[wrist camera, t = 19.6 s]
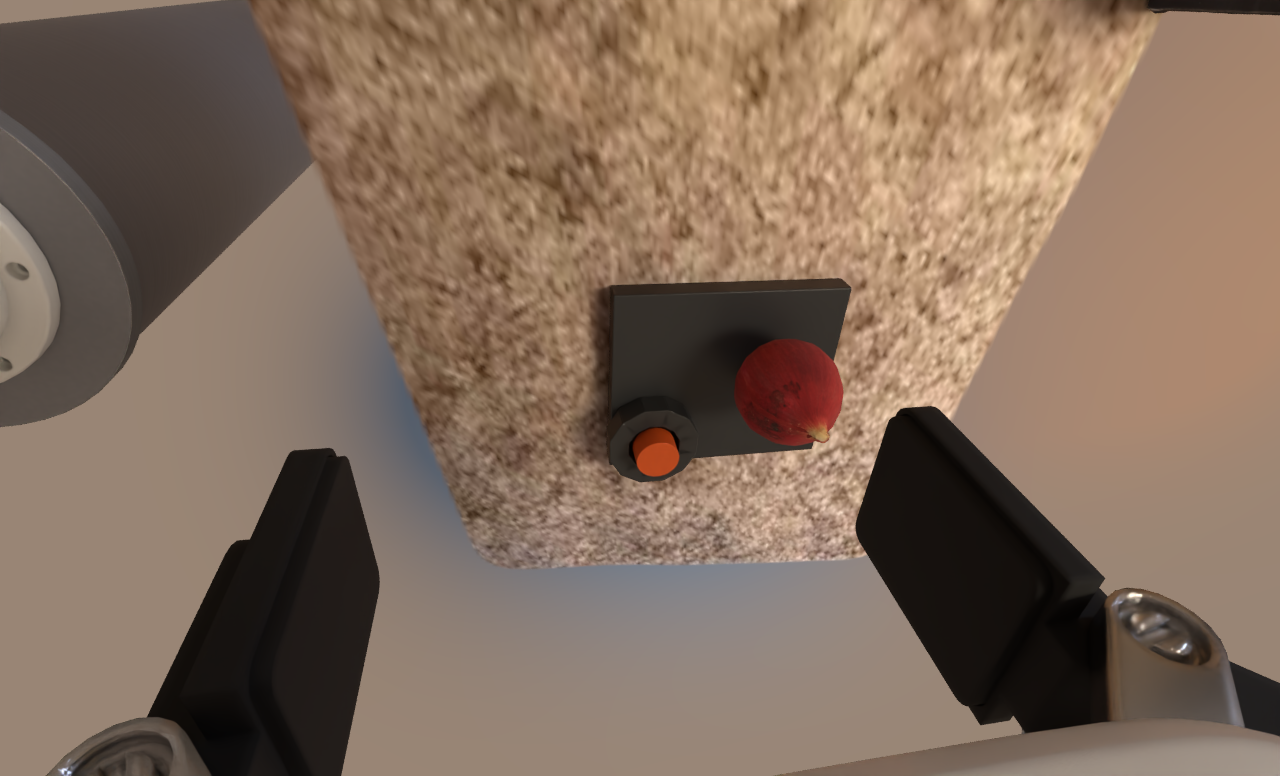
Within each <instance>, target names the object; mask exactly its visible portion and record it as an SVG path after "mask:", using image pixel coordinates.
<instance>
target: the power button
mask: <svg viewBox="0 0 1280 776" xmlns="http://www.w3.org/2000/svg"><path fill="white" fill-rule="evenodd" d="M633 452H634V456H635V460H636V464H637V467H638V469H639V470H640V471H641V472H642V473H643V474H645V475H648V476H662V475H665V474H667V473H669V472H670V471H672V470H673V469H674V468H675V467H676V465H677V464H678V461H679V452H678V450H677V447H676V444H675V441H674V438H673V436H672V434H671V433H670V432H669V431H667V430H665V429H663V428H649V429H646V430H644V431H642V432H641V433H640V434H639V435H637V437H636V438H635V440H634V442H633Z"/></svg>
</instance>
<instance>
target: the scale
mask: <svg viewBox="0 0 1280 776" xmlns="http://www.w3.org/2000/svg"><path fill="white" fill-rule="evenodd" d="M850 293H851V287H850V286H849V285H848V284H847V283H846V282H845V281H843V280H842V279H816V280H783V281H751V282H718V283H685V284H653V285H620V286H611V287H610V328H609V377H608V425H607V434H606V445H607V454H608V459H609V464H610V465H614V467H615V468H616V469H617V471H618V472H619V473H620V475H622V476H625V477H627V478H630V479H633V480H636V481H638V482H649V481H661V480H665V479H667V478H669V477H671V476H673V475H675V474H676V473H678V472H680V471H682V470H683V469H684V468H685V467H686V466H687V465H688V463H689V462H690V461H691V460H692V458H703V457H715V456H728V455H741V454H753V453H766V452H778V451H791V450H804V449H812V446H813V442H812V443H807V444H803V445H798V446H791V445H782V444H777V443H774V442H772V441H769V440H768V439H766V438H764V437H763V436H761V435H759V434H758V433H756V432H755V431H753V430H752V429H750V428H749V426H748V425H747V424H746V422H745V421H744V419H743V417H742V415H741V414H740V412H739V410H738V408H737V406H736V402H735V398H734V390H735V378H736V375H737V372H738V370H739V369H740V367H741V365H742V364H743V362H744V360H745V359H746V357H747V356H748V355H750V354H751V353H752V352H753V351H754V350H756V349H757V348H758V347H759V346H761V345H763V344H766V343H768V342H770V341H773V340H779V339H797V340H801V341H805V342H809V343H812V344H814V345H816V346H817V347H819V348H820V349H821V350H822V351H823V352H824V353H826V354H827V355H828V356H829V357H830V358H831V359H832V360H833V361H834V357H835V353H836V349H837V345H838V341H839V337H840V333H841V329H842V325H843V321H844V317H845V313H846V309H847V305H848V301H849V297H850ZM649 428H663V429H665V430H667V431H669V432H670V433H671V434H672V436H673V438H674V441H675V444H676V447H677V450H678V452H679V461H678V464H677V465H676V467H675V468H674V469H673V470H672V471H670V472H669V473H667V474H665V475H662V476H648V475H645V474H643V473H642V472H641V471H640V470H639V469H638V467H637V464H636V460H635V456H634V452H633V442H634V440H635V438H636V437H637V435H639V434H640V433H641V432H642V431H644V430H646V429H649Z"/></svg>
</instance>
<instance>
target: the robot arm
mask: <svg viewBox="0 0 1280 776" xmlns="http://www.w3.org/2000/svg"><path fill="white" fill-rule="evenodd" d="M60 306H61V303H60V298H59V293H58V288H57V283H56V280H55V277H54V275H53V273H52V271H51V268H50V266H49V264H48V262H47V259H46V257H45V256H44V254H43V253H42V251H41V250H40V248H39V247H38V245H37V244H36V242H35V241H34V239H33V238H32V236H31V235H30V233H29V232H28V231H27V230H26V229H25V228H24V227H23V226H22V225H21V224H20V222H19V221H18V220H17V219H16V218H15V217H14V216H13V215H12V214H11V213H10V212H9V210H8V209H7V208H5V207H4V206H3V205H2V204H1V203H0V383H2V382H5V381H7V380H8V379H10V378H12V377H14V376H16V375H18V374H19V373H21V372H23V371H24V370H25V369H27V368H28V367H29V366H30V365H31V364H33V363H34V362H35V361H36V360H37V359H39V358H40V357H41V356H42V355H43V353H44V352H45V351H46V349H47V348H48V347H49V346H50V344H51V343H52V342H53V339H54V337H55V334H56V331H57V329H58V326H59V321H60ZM856 534H857V537H858V540H859V542H860V543H861V545H862V547H863V548H864V550H865V551H866V553H867V555H868V556H869V558H870V560H871V561H872V563H873V564H874V566H875V568H876V569H877V571H878V573H879V574H880V576H881V577H882V579H883V581H884V582H885V584H886V585H887V587H888V589H889V590H890V592H891V594H892V595H893V597H894V598H895V600H896V602H897V603H898V605H899V607H900V608H901V610H902V611H903V613H904V614H905V616H906V618H907V619H908V621H909V623H910V624H911V626H912V628H913V629H914V631H915V632H916V634H917V636H918V637H919V639H920V640H921V642H922V644H923V645H924V647H925V649H926V650H927V652H928V653H929V655H930V657H931V658H932V660H933V662H934V663H935V665H936V666H937V668H938V670H939V671H940V673H941V675H942V676H943V678H944V679H945V681H946V683H947V684H948V686H949V688H950V689H951V691H952V692H953V694H954V696H955V697H956V698H957V700H958V701H959V702H960V703H961V704H963V705H965V706H969V708H970V710H971V711H972V713H973V714H974V716H975V717H976V719H977V721H978V722H979V724H980V725H984V724H991V723H996V722H1003V721H1009V720H1010V719H1011V718H1012V716H1014V717H1015V718H1016V720H1017V721H1018V723H1019V724H1020V726H1021V727H1022V734H1019V735H1013V736H1006V737H1000V738H994V739H989V740H982V741H976V742H970V743H964V744H958V745H952V746H946V747H941V748H935V749H928V750H923V751H916V752H911V753H904V754H898V755H892V756H887V757H880V758H874V759H868V760H862V761H856V762H851V763H845V764H839V765H833V766H827V767H822V768H816V769H810V770H804V771H798V772H793V773H786V774H780V775H775V776H1280V683H1278V682H1276V681H1273V680H1271V679H1269V678H1267V677H1264V676H1262V675H1260V674H1257V673H1255V672H1253V671H1251V670H1248V669H1246V668H1244V667H1241V666H1239V665H1237V664H1235V663H1232V662H1230V661H1229V660H1228V656H1227V652H1226V650H1225V648H1224V646H1223V644H1222V641H1221V639H1220V638H1219V637H1218V636H1217V635H1216V633H1215V632H1214V631H1213V630H1212V628H1211V627H1210V626H1209V625H1208V624H1207V623H1205V622H1204V621H1203V620H1202V619H1201V618H1200V617H1198V616H1197V615H1196V614H1195V613H1194V612H1192V611H1190V610H1189V609H1187V608H1186V607H1184V606H1182V605H1181V604H1179V603H1178V602H1176V601H1174V600H1171V599H1169V598H1167V597H1164V596H1163V595H1160V594H1158V593H1154V592H1150V591H1147V590H1143V589H1135V588H1124V589H1120V590H1115V591H1114V592H1113V593H1112V594H1111V595H1110V596H1108V597H1107V595H1106V594H1105V593H1104V592H1103V591H1102V590H1101V589H1100V588H1099V587H1100V585H1101V584H1102V582H1103V581H1104V579H1105V578H1104V577H1103V576H1102V575H1101V574H1100V573H1099V571H1098V570H1096V568H1095V567H1094V566H1093V565H1092V564H1090V562H1089V561H1088V560H1087V559H1086V558H1085V557H1084V556H1083V555H1082V554H1081V553H1080V552H1079V551H1078V550H1077V549H1076V548H1075V547H1074V546H1073V545H1072V544H1071V543H1070V542H1069V541H1068V540H1067V539H1066V538H1065V537H1064V536H1063V535H1062V534H1061V533H1060V532H1059V531H1058V530H1057V529H1056V528H1055V527H1054V526H1053V525H1052V524H1051V523H1050V522H1049V521H1048V520H1047V519H1046V518H1045V517H1044V516H1043V515H1042V514H1041V513H1040V512H1039V511H1038V510H1037V508H1036V507H1035V506H1033V504H1032V503H1030V501H1029V500H1028V499H1027V498H1026V497H1025V496H1024V495H1023V494H1022V493H1021V492H1020V491H1019V490H1018V489H1017V488H1016V487H1015V486H1014V485H1013V484H1012V483H1011V482H1010V481H1009V480H1008V479H1007V478H1006V477H1005V476H1004V475H1003V474H1002V473H1001V472H1000V471H999V470H998V469H997V468H996V467H995V466H994V465H993V464H992V463H991V462H990V461H989V460H988V459H987V458H986V457H985V456H984V455H983V454H982V453H981V452H980V451H979V450H978V449H977V448H976V446H975V445H974V444H973V443H971V441H970V440H969V439H968V438H967V437H966V436H965V435H964V434H963V433H962V432H961V431H960V430H959V429H958V428H957V427H956V426H955V425H954V424H953V423H952V422H951V421H950V420H949V419H948V418H947V417H946V416H945V415H944V414H943V413H942V412H941V411H940V410H939V409H937V408H936V407H932V406H927V407H912V408H903V409H901V410H899V411H898V412H897V414H896V416H895V417H892V418H891V419H890V420H889V422H888V424H887V427H886V431H885V434H884V437H883V440H882V443H881V446H880V449H879V452H878V455H877V458H876V461H875V465H874V468H873V471H872V474H871V477H870V480H869V483H868V486H867V489H866V492H865V495H864V498H863V502H862V505H861V508H860V511H859V514H858V517H857V520H856ZM379 583H380V581H379V571H378V566H377V563H376V559H375V555H374V551H373V548H372V544H371V540H370V537H369V533H368V529H367V525H366V522H365V518H364V514H363V511H362V507H361V503H360V499H359V496H358V492H357V488H356V485H355V481H354V477H353V473H352V470H351V466H350V463H349V460H348V458H347V457H346V456H340V457H337V456H336V453H335V452H334V450H333V449H331V448H324V449H309V450H294V451H292V452H290V454H289V455H288V457H287V459H286V461H285V463H284V465H283V468H282V470H281V472H280V474H279V477H278V479H277V481H276V483H275V485H274V487H273V490H272V492H271V494H270V496H269V499H268V501H267V503H266V505H265V507H264V510H263V512H262V514H261V516H260V518H259V521H258V523H257V525H256V527H255V530H254V532H253V534H252V536H251V538H250V540H239V541H236V542H235V543H234V544H232V545H231V546H230V548H229V549H228V551H227V553H226V554H225V556H224V558H223V560H222V562H221V565H220V566H219V569H218V571H217V573H216V575H215V577H214V579H213V581H212V583H211V585H210V587H209V589H208V591H207V593H206V596H205V598H204V600H203V602H202V604H201V606H200V608H199V610H198V612H197V614H196V617H195V618H194V621H193V623H192V625H191V627H190V629H189V631H188V633H187V635H186V637H185V639H184V641H183V643H182V645H181V647H180V649H179V652H178V654H177V656H176V658H175V660H174V662H173V664H172V666H171V668H170V670H169V672H168V674H167V676H166V678H165V681H164V683H163V685H162V687H161V689H160V691H159V693H158V695H157V697H156V699H155V701H154V703H153V705H152V708H151V710H150V712H149V714H148V716H147V718H136V719H133V720H129V721H126V722H123V723H119V724H116V725H113V726H111V727H110V728H107V729H105V730H104V731H102V732H100V733H98V734H96V735H94V736H92V737H90V738H88V739H87V740H86V741H84V742H83V743H82V744H80V745H79V746H78V747H76V748H75V749H74V750H72V751H71V752H70V753H68V754H67V755H65V756H64V757H63V758H62V759H61V761H60V762H59V763H58V764H57V765H56V766H55V767H54V768H53V769H52V770H51V771H50V772H49V773H48V774H47V775H46V776H341V773H342V769H343V764H344V759H345V754H346V749H347V744H348V739H349V735H350V730H351V725H352V720H353V715H354V710H355V705H356V701H357V696H358V691H359V686H360V681H361V676H362V672H363V667H364V662H365V657H366V652H367V647H368V642H369V638H370V633H371V628H372V623H373V618H374V613H375V608H376V603H377V599H378V594H379Z"/></svg>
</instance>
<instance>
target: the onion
mask: <svg viewBox="0 0 1280 776" xmlns="http://www.w3.org/2000/svg"><path fill="white" fill-rule="evenodd" d="M734 398H735V402H736V406H737V408H738V410H739V412H740V414H741V415H742V417H743V419H744V421H745V422H746V424H747V425H748V426H749V428H750V429H752V430H753V431H755V432H756V433H758V434H759V435H761V436H763V437H764V438H766V439H768V440H769V441H772V442H774V443H777V444H782V445H791V446H798V445H803V444H807V443H812V442H814V441H817V442H820V443H825V442H826V441H828V440H829V434H828V433H827V432H828V431H829V430H830V429H831V428H832V427H833V425H834V423H835V421H836V419H837V417H838V415H839V413H840V411H841V405H842V399H843V386H842V382H841V379H840V375H839V372H838V369H837V367H836V365H835V363H834V362H833V360H832V359H831V358H830V357H829V356H828V355H827V354H826V353H824V352H823V351H822V350H821V349H820V348H819V347H817V346H816V345H814V344H812V343H809V342H805V341H801V340H797V339H779V340H773V341H770V342H768V343H766V344H763V345H761V346H759V347H758V348H757V349H756V350H754V351H753V352H752V353H751V354H750V355H748V356H747V357H746V359H745V360H744V362H743V364H742V365H741V367H740V369H739V370H738V372H737V375H736V378H735V390H734Z"/></svg>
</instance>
